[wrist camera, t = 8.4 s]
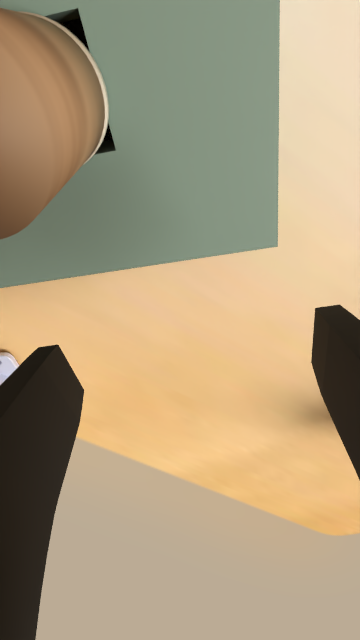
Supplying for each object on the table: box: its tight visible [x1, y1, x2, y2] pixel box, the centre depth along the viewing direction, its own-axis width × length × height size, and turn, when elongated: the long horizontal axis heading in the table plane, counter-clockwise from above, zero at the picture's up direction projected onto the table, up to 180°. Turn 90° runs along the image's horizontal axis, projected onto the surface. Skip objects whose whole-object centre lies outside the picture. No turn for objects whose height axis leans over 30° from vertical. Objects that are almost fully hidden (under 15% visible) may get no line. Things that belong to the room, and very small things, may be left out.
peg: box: [0, 8, 109, 240], centre depth 10 cm, size 4×4×9 cm
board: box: [0, 0, 280, 288], centre depth 11 cm, size 16×18×2 cm
